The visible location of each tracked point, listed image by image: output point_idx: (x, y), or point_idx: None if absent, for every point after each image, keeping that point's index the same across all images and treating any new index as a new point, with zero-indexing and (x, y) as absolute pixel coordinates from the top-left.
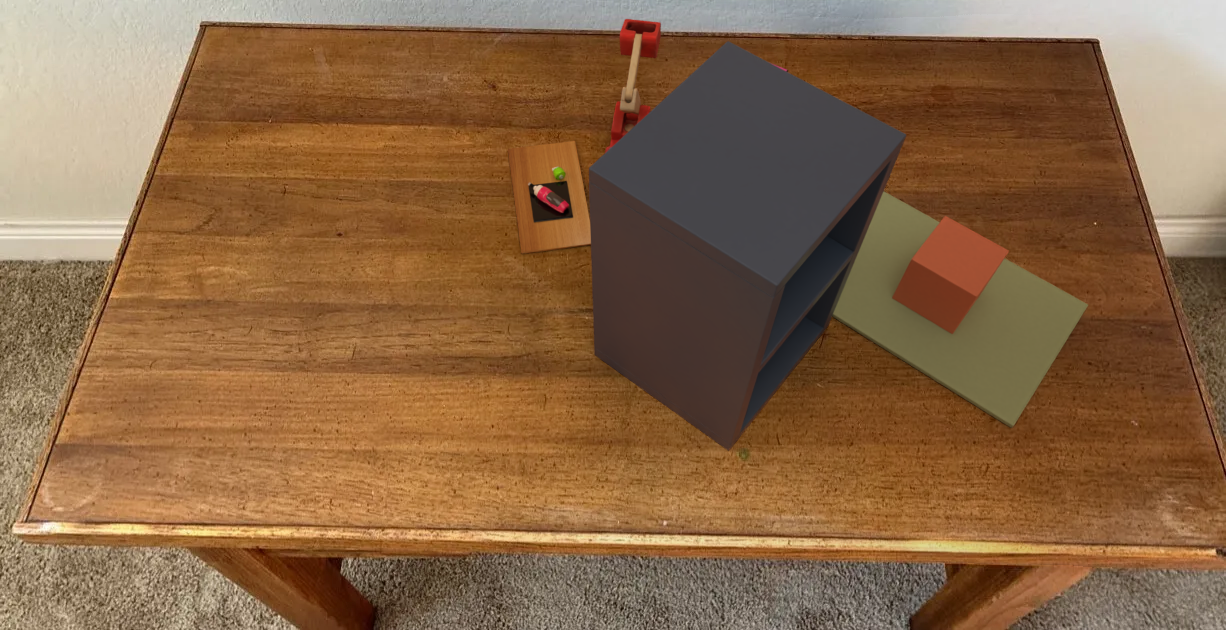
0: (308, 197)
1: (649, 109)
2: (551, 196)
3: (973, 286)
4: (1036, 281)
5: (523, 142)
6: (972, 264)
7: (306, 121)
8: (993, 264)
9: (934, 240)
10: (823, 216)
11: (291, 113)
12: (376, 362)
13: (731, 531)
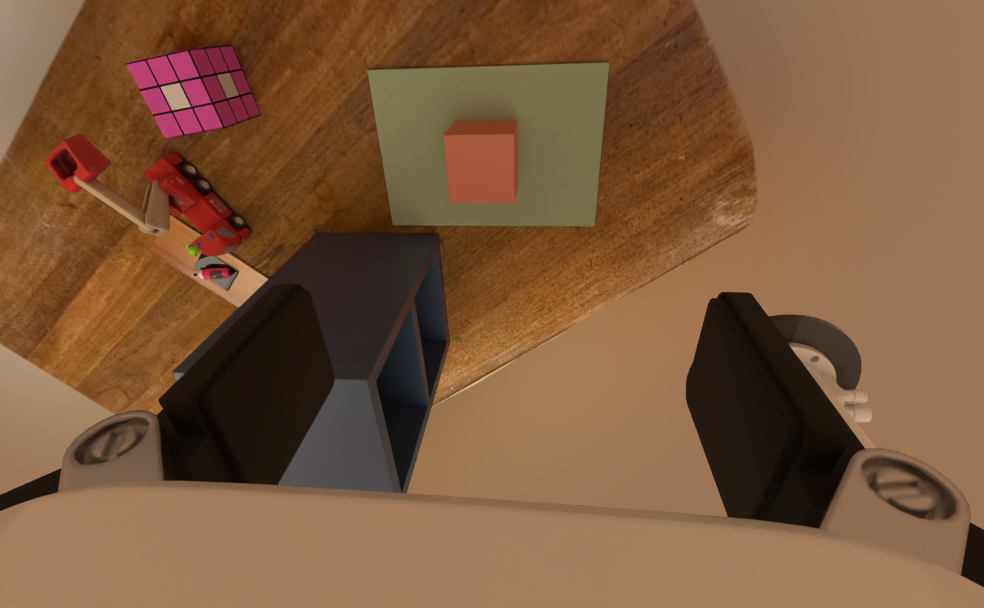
0: (132, 354)
1: (168, 183)
2: (213, 276)
3: (507, 194)
4: (554, 71)
5: (147, 236)
6: (494, 173)
7: (57, 315)
8: (509, 160)
9: (452, 171)
10: (381, 469)
11: (45, 316)
12: None
13: (482, 375)
